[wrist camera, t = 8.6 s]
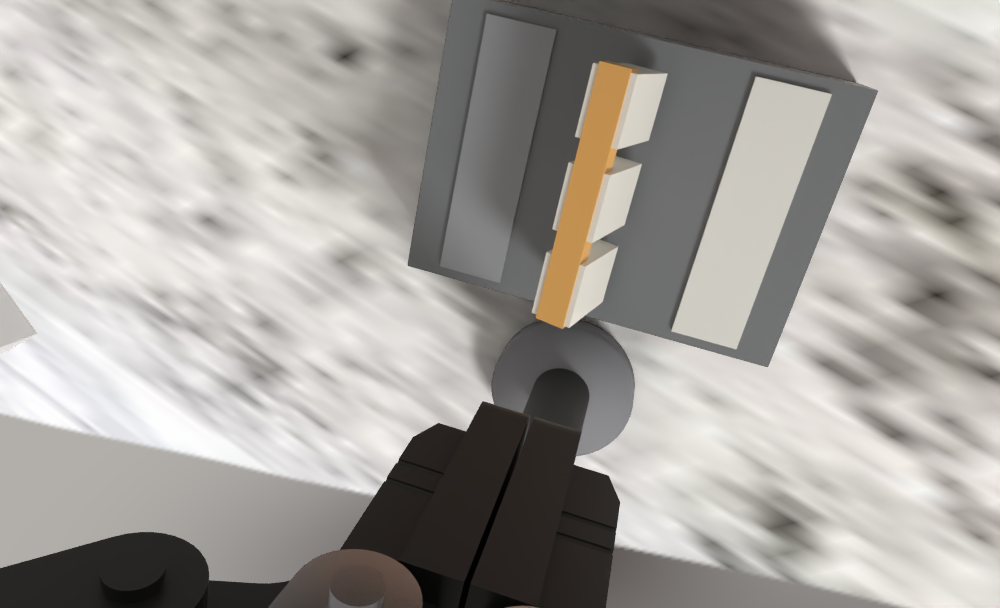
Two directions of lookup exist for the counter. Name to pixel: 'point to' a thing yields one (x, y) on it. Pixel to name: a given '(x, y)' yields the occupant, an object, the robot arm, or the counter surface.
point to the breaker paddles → (597, 190)
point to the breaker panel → (662, 179)
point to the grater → (12, 323)
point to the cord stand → (567, 380)
